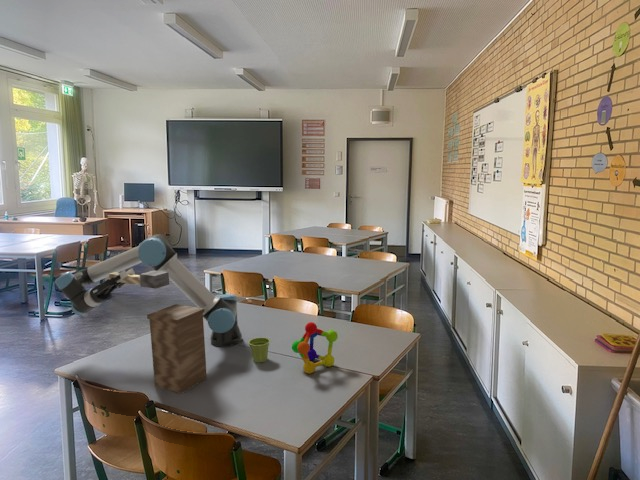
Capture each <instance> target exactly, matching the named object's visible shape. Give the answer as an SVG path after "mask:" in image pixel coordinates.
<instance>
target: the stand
mask: <svg viewBox="0 0 640 480" xmlns="http://www.w3.org/2000/svg"><path fill="white" fill-rule="evenodd" d="M204 312H205V311H204V308H198V307H197V306H191V305H182V304H177V303H175V304H173V305H170V306H167V307H165V308H162V309H159V310H157V311H154V312H151V313H149V314H147V316H146V317H147V319H148V320H149V329H150V341H151V354H152V355H151V356H152V366H153V367H152V368H153V379H154V380H153V381H154V387H156V388H160V389H164V390H168V391H173V392H176V393H178V394H179V393H180V394H183V392H184V393H185V392H187V391H188V390H190V389H192V388H193V387H195V386H196V385H198V384H200V383H201V382H203V381H204V380H206V379H207V378H208V377H207V376H208V375H207V373H208V372H207V361H206V359H207V358H206V347H205V346H206V345H205V343H206V341H205V329H204V328H205V327H204V317H203V313H204ZM199 382H200V383H199ZM197 383H198V384H197ZM194 385H195V386H194ZM192 386H193V387H192ZM191 387H192V388H191ZM189 388H190V389H189ZM186 390H187V391H186Z"/></svg>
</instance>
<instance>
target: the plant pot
mask: <svg viewBox="0 0 640 480" xmlns="http://www.w3.org/2000/svg"><path fill="white" fill-rule="evenodd" d="M270 343H271V340H270V339H269V338H267V337H255V338H252V339H249V340H248V345H249V347H250V350H251V354H252V355H251V356H252V361H253V362H255V363H262V362H263V363H264V362H267V360H268V357H269V356H268V354H269V345H270Z"/></svg>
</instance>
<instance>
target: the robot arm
mask: <svg viewBox="0 0 640 480" xmlns="http://www.w3.org/2000/svg"><path fill="white" fill-rule="evenodd" d="M139 264H143V265H146V266H149V267H152V269H153V270H154V271H163V272H169V281H170V282H171V283H173V284H174V285H175V286H176V287H177V288H178V289H179V290H180V291H181V292H182V293H183V294H184V295H185V296H186V297H187V298H188V299H189V300H190V301H191V302H192V303H193V304H194V305H195V307H198V308H204V311H205V312H204V313H203V319H205V321H207V326H208V327H209V329H210V330H211V334H210V345H213V346H215V347H229V346H234V345H237V344H239V343H241V342H242V341H243V335H242V332H241V329H240V327H239V325H238V324H239V323H238V305H237V301H238V300H237V296H236V295H235V294H231V293H230V294H229V293H227V294H226V293H225V294H217V295H214V294H213V293H212V291H210V290H209V289H208V288H207V287H206V286H205V285H204V284H203V282H201V281H200V280H199V279H198V278H197V277H196V276H195V275H194V274H193V273H192V272H191V271H190V270H189V269H188V268H187V267H186V266H185V265H184V264H183V263H182V262H181V261H180V259H178V253H177V252H176V251H175V250H174V249H173V243H172V241H171V240H170V238H169V237H167V236H166V235H165V234H160V233H156V234H153V235H151V236H149V237H147V238H145V239H144V240H143V241H142V242H140V243H139V245H138V246H135V247H133V248H131V249H128V250H126V251H124V252H121V253H119V254H116V255H115V256H112V257H109V258H107V259H105V260H103V261H101V262H97V263H95V264H94V265H93V264H92V265H91V266H89V267H86V268H84V269H80V270H78V271H76V272H75V273H72V272H71V271H67V272H66V271H65V273H63V274H62V275H60V276H59V277H58V278H56V279H55V280H54V284H55V285H56V287H58V289H59V290H60V291H61V292H62V294H64V295H65V297H67V299H69V301H70V302H71V310H72V311H71V312H73V314H75V315H76V316H85V315H86V314H89V313H90V312H91V311H93V310H94V309H96V308H98V307H100V305H101V304H102V303H104V302H105V301H107V300H108V299H110V297H111V294H112V292H114V291H115V290H117V289H121V288H122V286H124V285H125V284H126V283H122V282H120V281H122V280H123V279H124V278H126V277H127V276H128V275H127V274H134V275H136V272H135V270H134V269H133V267H134V266H137V265H139ZM127 269H128V270H127ZM126 270H127V271H126ZM114 272H117V273H119V274H118V275H116V276H115V278H111V279H106V278H109V274H110V273H114ZM103 279H106V280H105V281H104V282H102V283H97V282H100V281H101V280H103ZM95 283H97V284H96V285H95V286H93V287H91V288H90V289H89V290H87V289H86V287H87V286H90V285H92V284H95Z"/></svg>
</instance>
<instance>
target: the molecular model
mask: <svg viewBox="0 0 640 480" xmlns="http://www.w3.org/2000/svg"><path fill="white" fill-rule="evenodd" d="M304 330H305V333H304V334H303V336H302V337H301V338H300V340H296V341H294V342H293V343H292V344H291V349H292V351H293V352H294V353H296V354H299V356H300V358H301V359H302V361H303V363H304V364H303V370H304V372H305V373H306V374H307V375H308V374H309V375H310V374H313V373H314V372H315V370H316V368H317V367H321V366H323V365H324V366H326V367H329V368H330V367H332V366H334V364H335V358H334V356H333V355H332V353H333V352H332V351H333V345H334V342H336V341H337V339H338V333H337V331H336V330H334V329H330V330H328V331H325V330H322V329H320V328H318V326H317V324H316V323H314V322H311V321H310V322H308V323H306V325H305V327H304ZM317 336H320V337H324V338H326V340H327V341H328V347H327V354H326V355H324V356H323V355H320V354H317V351H316V350H315V349H314V341H315V340H314V339H315V338H316V337H317ZM315 359H317V360H320V361H318V362H314V360H315Z"/></svg>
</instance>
